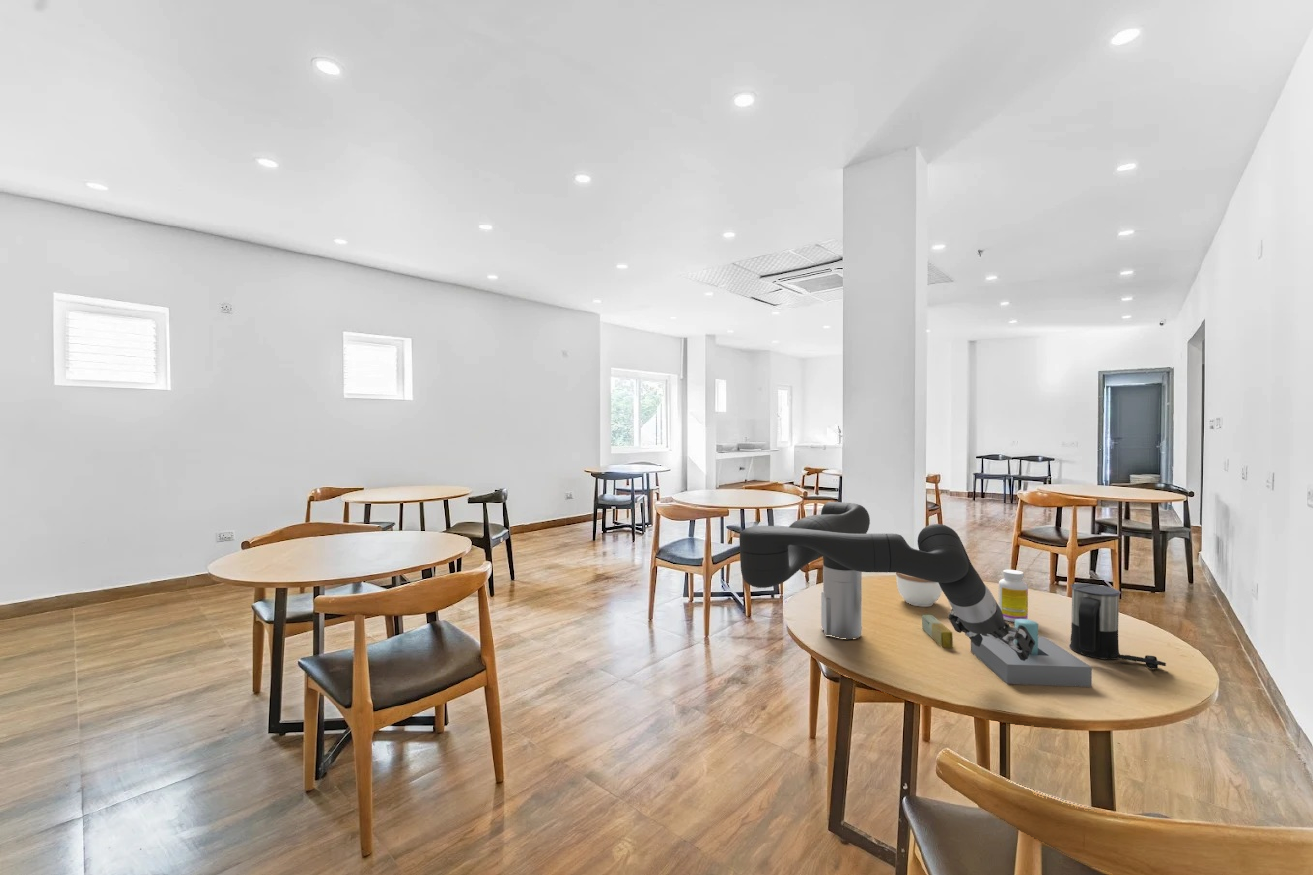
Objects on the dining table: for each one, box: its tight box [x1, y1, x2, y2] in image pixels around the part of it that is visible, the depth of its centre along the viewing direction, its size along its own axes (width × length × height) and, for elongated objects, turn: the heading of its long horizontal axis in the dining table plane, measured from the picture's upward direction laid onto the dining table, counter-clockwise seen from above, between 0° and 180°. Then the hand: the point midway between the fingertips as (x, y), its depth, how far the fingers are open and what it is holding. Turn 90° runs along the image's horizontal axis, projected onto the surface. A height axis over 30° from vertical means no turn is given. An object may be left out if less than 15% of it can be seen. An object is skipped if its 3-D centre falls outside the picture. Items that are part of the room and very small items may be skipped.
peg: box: [1014, 619, 1039, 655], centre depth 120 cm, size 4×4×10 cm
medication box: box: [921, 613, 954, 648], centre depth 137 cm, size 12×3×4 cm, turn 176°
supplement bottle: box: [998, 569, 1029, 623], centre depth 149 cm, size 7×7×13 cm
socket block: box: [970, 635, 1093, 688], centre depth 120 cm, size 16×16×4 cm
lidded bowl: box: [895, 572, 943, 608], centre depth 163 cm, size 13×13×11 cm
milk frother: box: [1069, 582, 1167, 670], centre depth 124 cm, size 14×16×15 cm
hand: (1001, 649), depth 113 cm, fingers open, 8 cm apart
